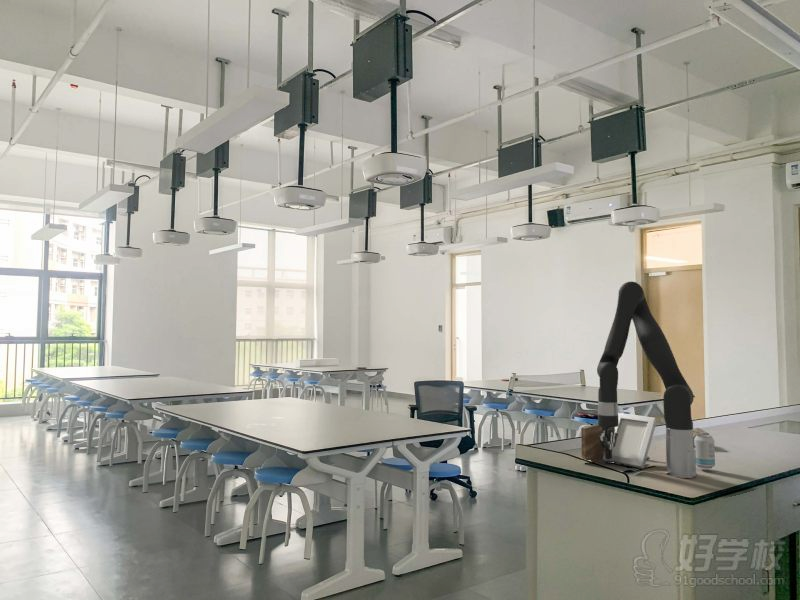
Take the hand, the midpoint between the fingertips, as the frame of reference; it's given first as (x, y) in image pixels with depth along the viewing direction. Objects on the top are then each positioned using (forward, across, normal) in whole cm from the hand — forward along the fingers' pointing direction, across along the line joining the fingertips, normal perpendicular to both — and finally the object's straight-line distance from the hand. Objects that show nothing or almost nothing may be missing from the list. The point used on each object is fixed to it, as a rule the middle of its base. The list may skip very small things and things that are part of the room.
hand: (608, 458), depth 233 cm
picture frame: (+2, +3, -4) cm, 6 cm away
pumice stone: (+3, +70, -12) cm, 71 cm away
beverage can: (+3, +23, -28) cm, 36 cm away
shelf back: (+2, +9, +8) cm, 12 cm away
